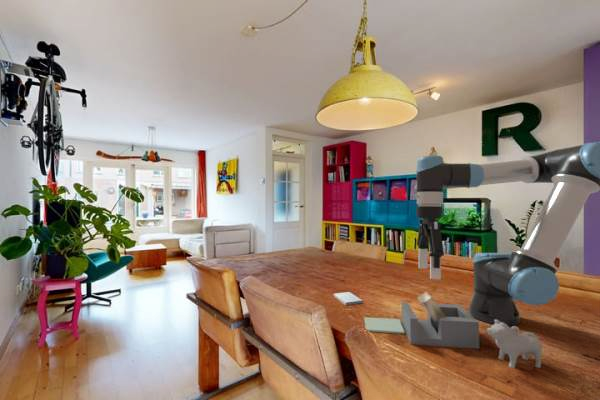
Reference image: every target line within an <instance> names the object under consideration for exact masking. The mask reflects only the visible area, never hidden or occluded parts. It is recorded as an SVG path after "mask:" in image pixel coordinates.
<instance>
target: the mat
mask: <svg viewBox="0 0 600 400" xmlns="http://www.w3.org/2000/svg"><path fill="white" fill-rule="evenodd" d="M363 318H364V319H363V320H364V327H365V330H366V329H367V330H369V331H371V332H372V333H384V334H385V333H387V334H399V335H403V334H404V335H405V334H406V332H405V330H404V328H403V325H402V321H401V320H400V319H398V318H386V317H385V318H383V317H366V316H364V317H363ZM371 332H370V333H371Z"/></svg>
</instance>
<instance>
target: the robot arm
mask: <svg viewBox="0 0 600 400" xmlns="http://www.w3.org/2000/svg"><path fill="white" fill-rule="evenodd" d="M416 162H417V163H416V171H415V172H416V194H415V195H414V198H415V199H416V205H417V207H415V209H416V218H418V219H419V227H418V232H417V233H418V234H417V241H416V246H417V248H418V269H424V270H426V269H428V264H429V279H430V280H442V279H441V278H442V275H441V274H442V271H441V270H442V257H444V255H445V252H444V245H443V238H442V232H441V222H440V221H439V222H437V219H439V220H440V219H443V216H444V215H443V211H444V210H443V208H444V207H442V205H444V192H443V191H444V190H447V189H448V190H449V189H459V188H467V189H470V188H478V187H481V186H487V185H488V186H489V185H497V184H508V183H515V182H517V183H518V182H522V183H525V184H535V183H536V184H537V183H538V184H539V183H545V184H547V183H548V184H554V185H553V187H552V189H551V191H550V193H549V195H548V196H547V199H546V201H545V202H544V204H543V206H542V207H541V210H540V212H539V213H538V216H537V217H536V220H534V222H533V225H532V227H531V228H530V231H529V232H528V234H527V236H526V238H525V240H524V242H523V243H522V245H521V247H520V249H517V250H513V251H512V252H511V253H507V252H506V253H505V252H477V253H475V254H474V256H473V262H472V265H473V289H474V291H473V295H472V298H471V300H470V304H469V306H468V313H469V314H470V315H471V316H473V317H474V318H475V319H476V320H477V321H481V322H484V323H487V324H492V325H494V324H495V321H494V320H498V321H500V322H503V323H505V324H506V325H508V326H517V325H519V324H520V323H521V316H520V312H519V310H518V308H517V307H518V306H517V305H516V302H515V301H517V302H520V303H524V304H526V305H530V306H541V305H546V304H548V303H550V302H551V301H553V300H554V299H555V298H556V296H557V295H558V294H559V293H558V292H559V290H560V284H559V282H560V281H559V278H558V277H557V275H556V273H557V270H558V268H557V266H556V265H555V260H556V259H557V257H558V255H559V253H560V252H561V251H560V250H561V249H562V248H563V245H564V244H565V242H566V240H567V238H568V236H569V234H570V232H571V231H572V228H573V226H574V224H575V223H576V221H577V219H578V217H579V215H580V213H581V211H582V209H583V208H584V206H585V204H586V202H587V200H588V198H589V196H590V195H591V194H594V193H597V192H599V191H600V141H594V142H587V143H583V144H580V145H575V146H570V147H564V148H561V149H555V150H551V151H548V152H544V153H541V154H536V155H531V156H524V157H522V158H521V159H519V160H512V161H511V160H509V161H501V162H493V163H492V162H491V163H481V164H478V163H471V162H469V163H448V162H445V161H444V158H443V157H442V156H441V155H426V156H422V157H419V158H418V159H417V161H416ZM429 249H430V253H428V252H429V251H428V250H429ZM428 254H429V255H428ZM428 256H429V257H428ZM428 258H430V259H428ZM428 260H430V261H428ZM428 262H429V263H428Z"/></svg>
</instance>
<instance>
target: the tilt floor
mask: <svg viewBox="0 0 600 400" xmlns="http://www.w3.org/2000/svg"><path fill="white" fill-rule="evenodd" d="M417 300H418V301H419V303H420V304H421V305H422V306H423V308H424V309H425V311H426V312H427V314H428V313H429V314H430V316H431V317H432V319H433V320H434V321H435V323H436V324H437V325H438V322H437V321H436V319H435V318H434V317H433V315H432V314H431V313H430V311H429V310H428V309H427V307H426V306H425V305H424V303H423V302H422V300H421V299H420V298H419V296H417Z"/></svg>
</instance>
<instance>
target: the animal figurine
mask: <svg viewBox="0 0 600 400" xmlns="http://www.w3.org/2000/svg"><path fill="white" fill-rule="evenodd" d="M494 321H495V324H492V325H491V327H487V329H486V332H487V334H488V335H489V336H490V337H491V338H492V339H494V342H495V344H496V346H497V347H498V348H499V355H498V357H497V359H498V360H501V361H502V360H504V359H505V356H506V355H507V356H508V358H509V363H508V367H509V368H512V369H515V368H516V364H517V360H518V357H519V356H520V355H522V359H523V360H525V361H526V360H527V361H529V357H530V355H532V356H533V357H534V360H535V368H539V369H540V368H541V366H542V351H543V345H542V344H541V341H540V340H539V339H538V338H537V335H535V333H534V332H529V331H528V332H527V331H523V333H520V328H519V327H518V326H517V325H511V327H510V325H506V324H505V323H503V322H500V321H498V320H494Z"/></svg>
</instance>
